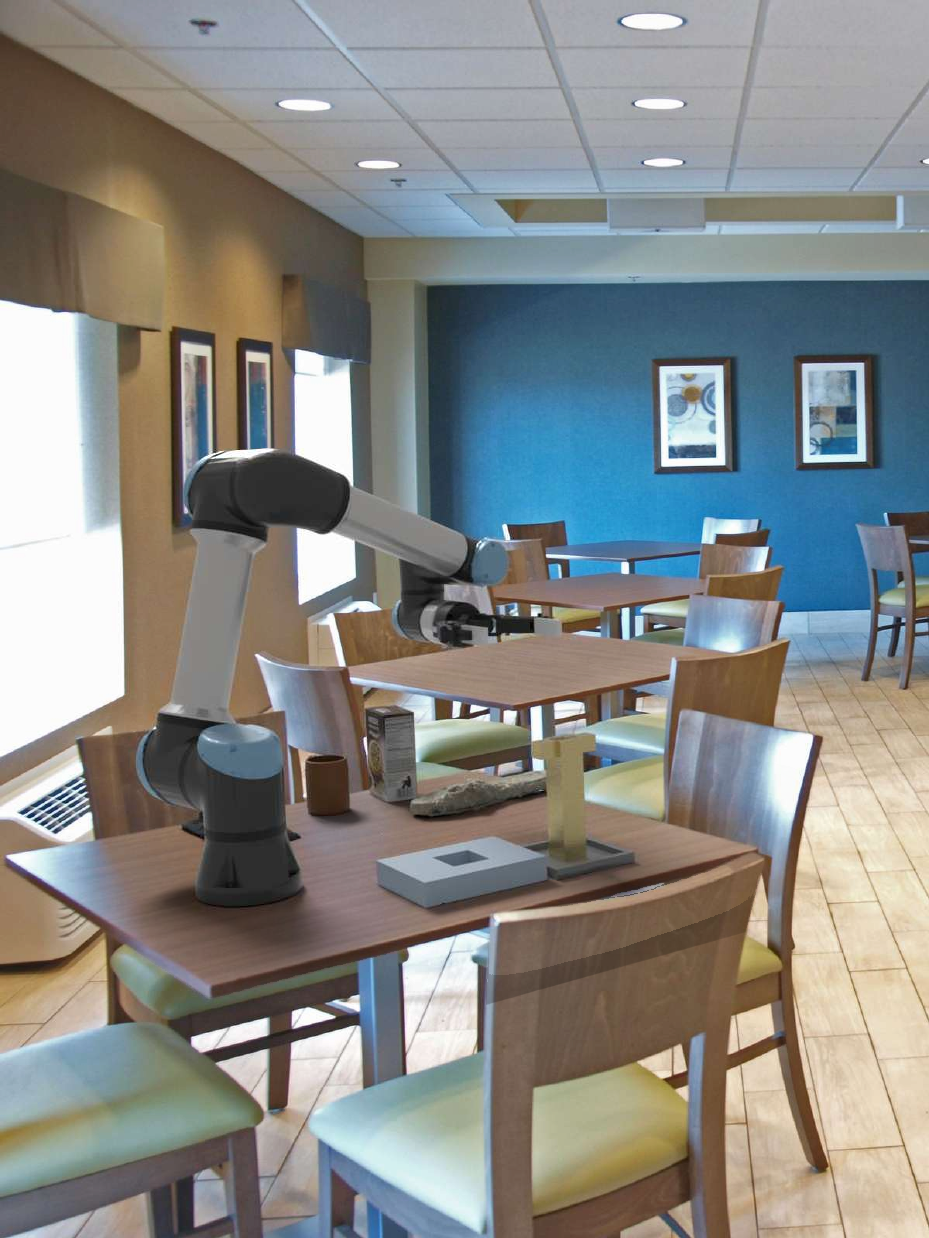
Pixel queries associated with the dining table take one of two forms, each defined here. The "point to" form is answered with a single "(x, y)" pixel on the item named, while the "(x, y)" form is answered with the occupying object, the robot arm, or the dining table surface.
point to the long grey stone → (478, 794)
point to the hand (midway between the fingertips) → (523, 632)
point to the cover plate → (461, 871)
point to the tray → (597, 858)
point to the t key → (565, 792)
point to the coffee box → (391, 753)
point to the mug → (327, 784)
